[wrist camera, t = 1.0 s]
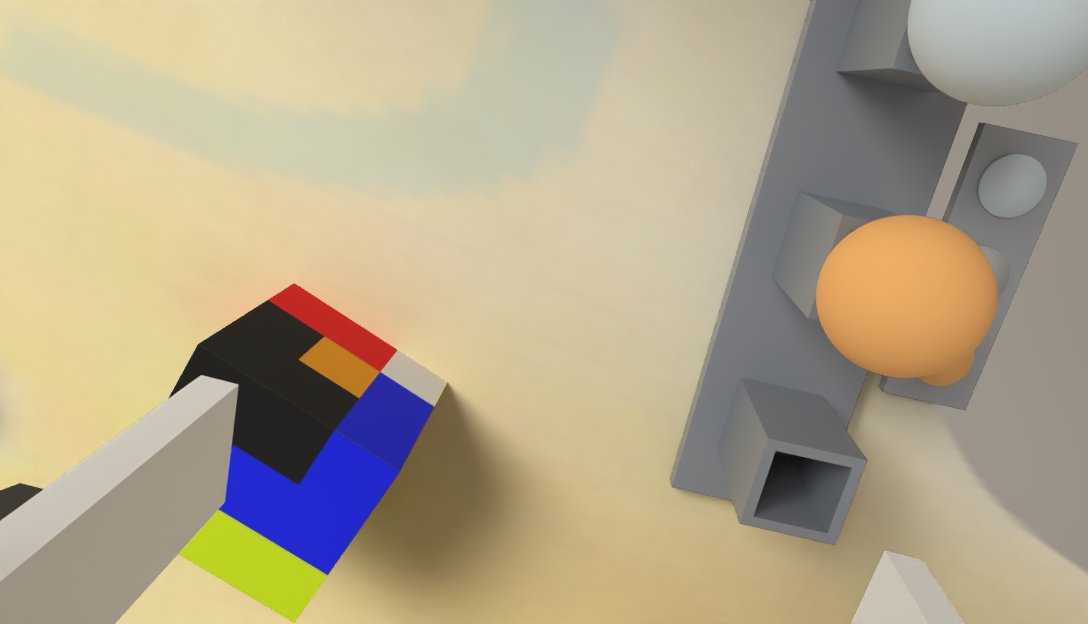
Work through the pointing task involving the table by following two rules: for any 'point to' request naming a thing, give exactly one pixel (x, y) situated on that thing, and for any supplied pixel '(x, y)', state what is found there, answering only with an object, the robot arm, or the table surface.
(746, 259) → the ball display stand
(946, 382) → the card
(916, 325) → the orange ball
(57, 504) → the robot arm
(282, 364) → the puzzle toy
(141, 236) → the table surface
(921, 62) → the light gray ball
